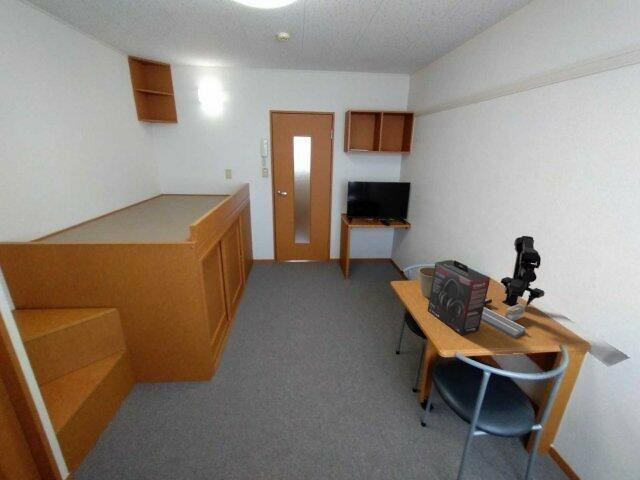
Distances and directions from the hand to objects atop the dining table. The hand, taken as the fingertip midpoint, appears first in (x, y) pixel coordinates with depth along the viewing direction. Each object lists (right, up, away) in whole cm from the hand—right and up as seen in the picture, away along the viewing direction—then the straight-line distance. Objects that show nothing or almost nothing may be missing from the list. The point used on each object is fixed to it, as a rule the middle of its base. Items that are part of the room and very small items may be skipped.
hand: (517, 301), depth 152 cm
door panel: (0, -10, +3) cm, 11 cm away
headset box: (-35, -10, 0) cm, 37 cm away
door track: (-13, -11, -1) cm, 17 cm away
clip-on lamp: (-15, -5, +18) cm, 24 cm away
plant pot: (-38, -2, +26) cm, 46 cm away
